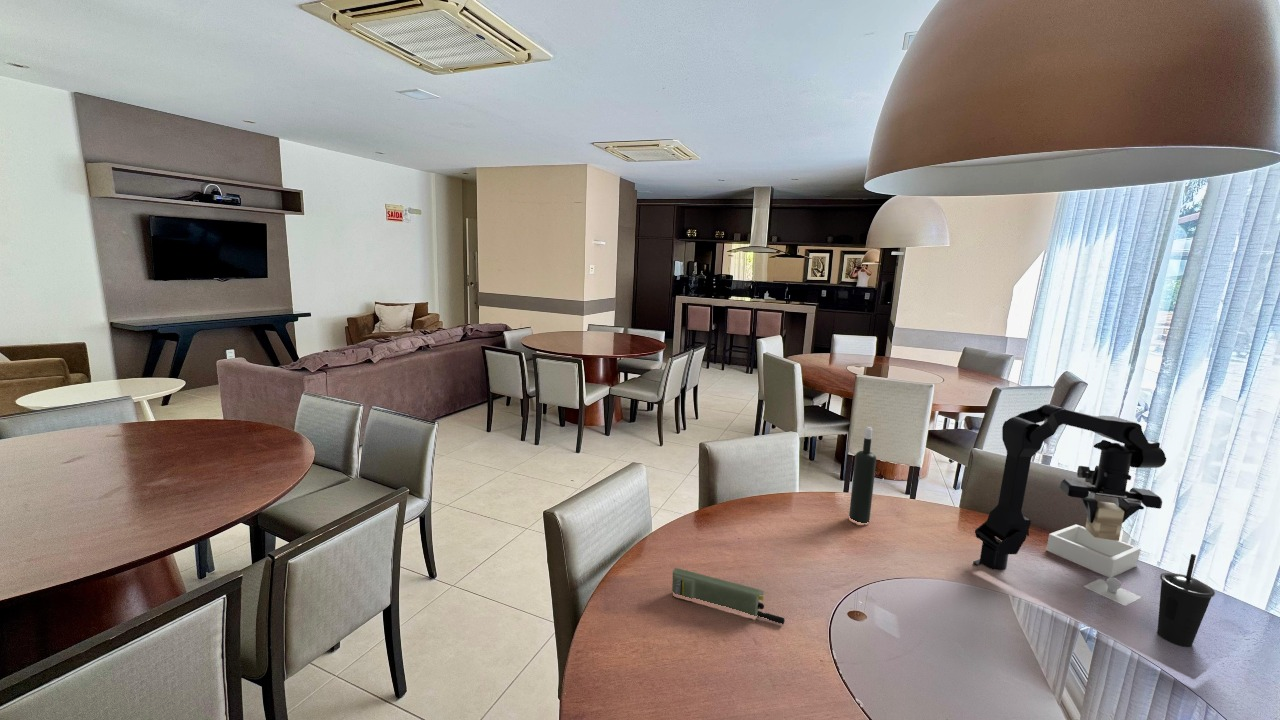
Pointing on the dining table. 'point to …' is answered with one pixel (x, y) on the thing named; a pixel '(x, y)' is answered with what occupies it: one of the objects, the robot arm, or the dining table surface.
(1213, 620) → the dining table surface
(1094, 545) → the white bin
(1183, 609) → the drinking cup
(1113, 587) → the stud plate
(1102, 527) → the wooden post
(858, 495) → the wine bottle
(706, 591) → the handheld radio
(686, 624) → the dining table surface
